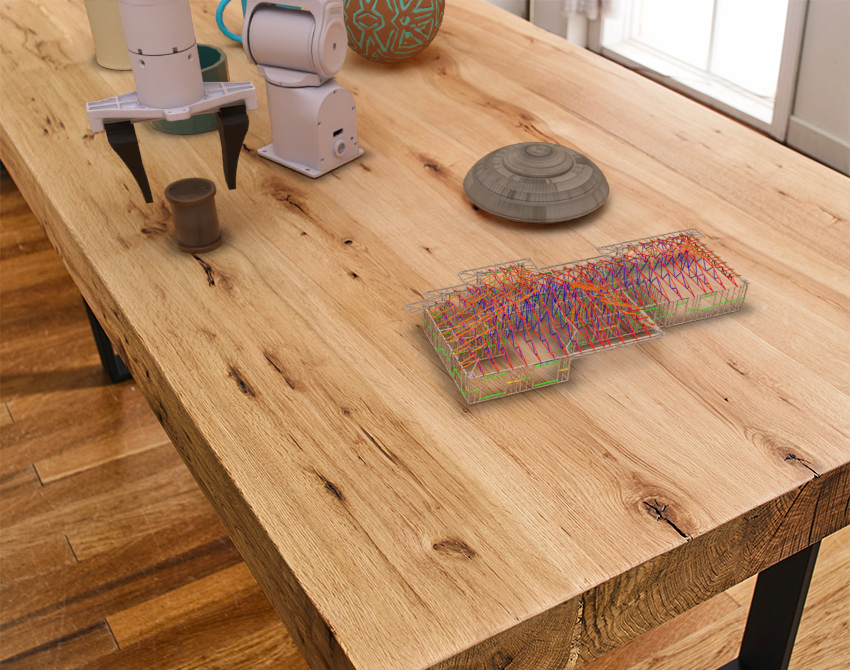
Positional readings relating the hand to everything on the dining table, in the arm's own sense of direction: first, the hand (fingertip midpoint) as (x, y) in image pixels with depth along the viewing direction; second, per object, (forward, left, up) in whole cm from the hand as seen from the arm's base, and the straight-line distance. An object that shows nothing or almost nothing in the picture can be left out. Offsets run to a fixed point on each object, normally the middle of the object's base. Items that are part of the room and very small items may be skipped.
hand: (190, 191), depth 87 cm
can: (+46, -25, -5) cm, 53 cm away
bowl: (+24, -18, -5) cm, 30 cm away
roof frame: (-36, -13, -5) cm, 39 cm away
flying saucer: (-20, -28, -6) cm, 35 cm away
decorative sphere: (+18, -47, -6) cm, 51 cm away
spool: (0, 0, -5) cm, 5 cm away
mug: (+36, -40, -5) cm, 54 cm away
